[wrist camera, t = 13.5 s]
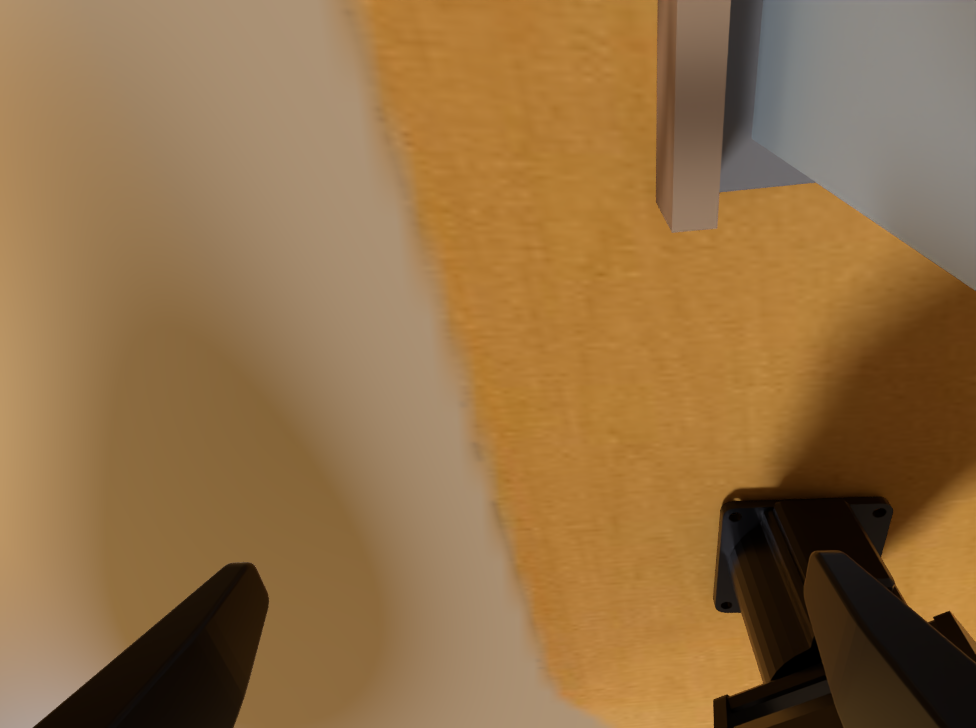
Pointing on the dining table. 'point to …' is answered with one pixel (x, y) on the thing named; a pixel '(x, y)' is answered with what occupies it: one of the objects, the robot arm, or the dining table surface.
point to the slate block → (879, 113)
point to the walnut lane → (709, 110)
